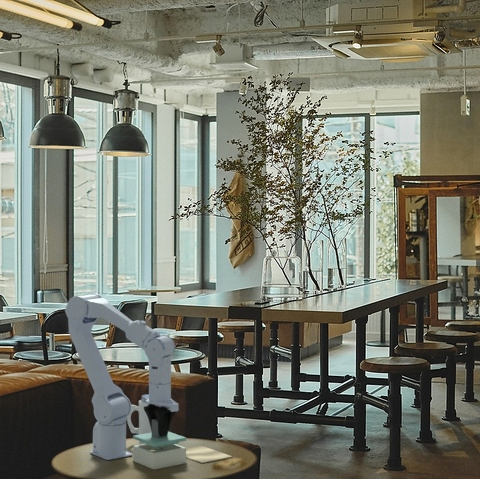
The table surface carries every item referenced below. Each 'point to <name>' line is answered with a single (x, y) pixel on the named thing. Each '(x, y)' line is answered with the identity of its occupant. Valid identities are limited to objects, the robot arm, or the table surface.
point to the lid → (158, 437)
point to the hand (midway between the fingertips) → (159, 434)
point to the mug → (140, 420)
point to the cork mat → (205, 454)
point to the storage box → (159, 455)
